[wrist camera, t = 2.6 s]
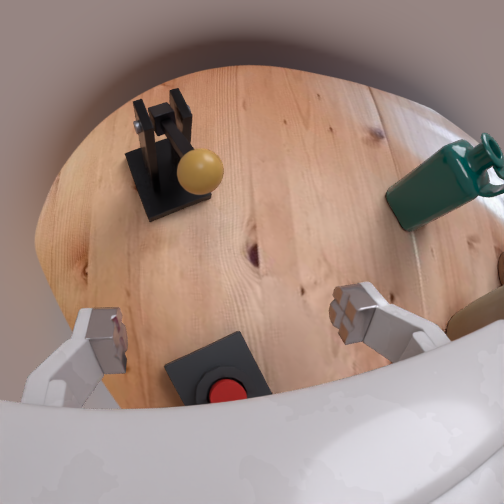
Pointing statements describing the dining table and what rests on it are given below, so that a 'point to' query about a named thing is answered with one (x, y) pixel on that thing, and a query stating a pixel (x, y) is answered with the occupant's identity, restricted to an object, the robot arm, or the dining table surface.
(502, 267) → the vase
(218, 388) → the bell button
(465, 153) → the pitcher
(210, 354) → the block
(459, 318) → the plant pot
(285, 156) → the dining table surface
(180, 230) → the dining table surface
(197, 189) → the lever
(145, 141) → the stand
